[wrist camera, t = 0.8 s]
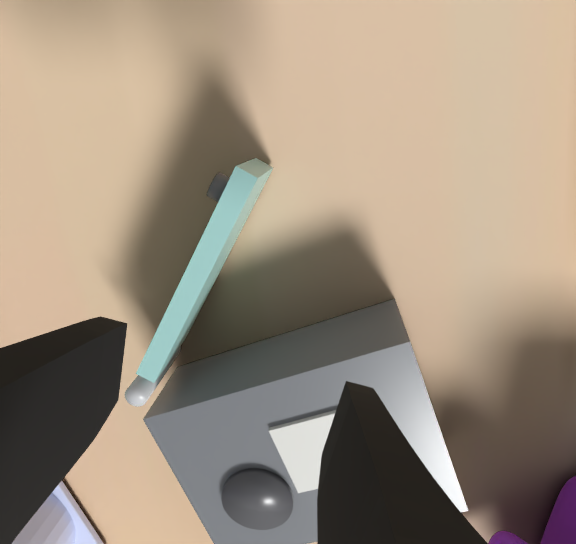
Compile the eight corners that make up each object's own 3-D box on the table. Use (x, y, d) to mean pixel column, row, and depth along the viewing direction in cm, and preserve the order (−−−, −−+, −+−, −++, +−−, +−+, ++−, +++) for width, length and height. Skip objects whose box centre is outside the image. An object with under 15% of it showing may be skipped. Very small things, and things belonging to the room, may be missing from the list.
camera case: (241, 489, 23) (221, 566, 19) (177, 367, 21) (139, 424, 17) (444, 441, 21) (470, 517, 17) (394, 298, 19) (411, 345, 15)
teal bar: (176, 358, 21) (142, 410, 17) (148, 343, 21) (106, 392, 17) (274, 168, 17) (258, 179, 14) (241, 149, 17) (215, 154, 14)
